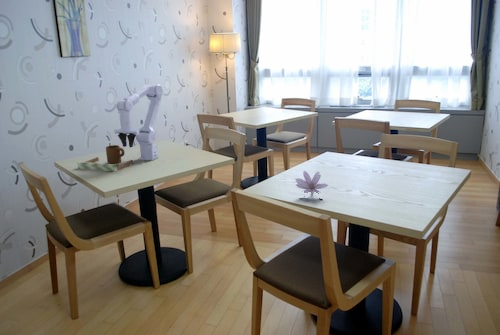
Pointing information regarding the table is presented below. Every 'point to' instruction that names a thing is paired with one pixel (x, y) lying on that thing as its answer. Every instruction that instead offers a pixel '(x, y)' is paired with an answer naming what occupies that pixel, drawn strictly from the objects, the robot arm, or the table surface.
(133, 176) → the table surface
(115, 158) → the mug
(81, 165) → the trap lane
